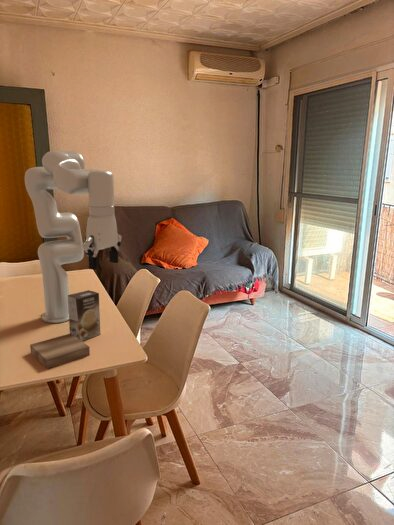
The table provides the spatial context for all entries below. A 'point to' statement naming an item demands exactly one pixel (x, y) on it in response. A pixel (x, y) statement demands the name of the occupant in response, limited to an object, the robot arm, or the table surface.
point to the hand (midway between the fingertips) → (104, 265)
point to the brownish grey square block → (59, 350)
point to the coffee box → (84, 314)
